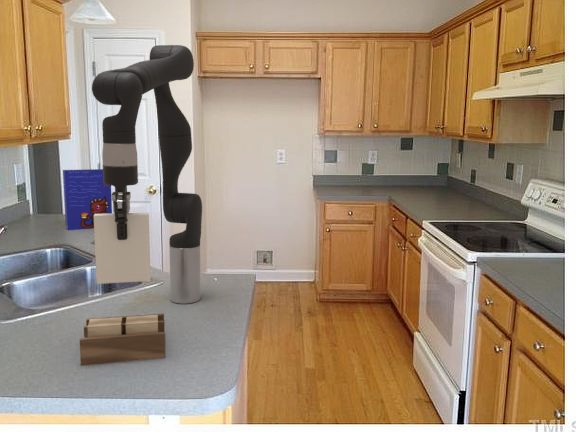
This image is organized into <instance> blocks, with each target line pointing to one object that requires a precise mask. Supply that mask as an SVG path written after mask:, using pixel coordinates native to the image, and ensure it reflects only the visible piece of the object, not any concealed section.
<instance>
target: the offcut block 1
mask: <svg viewBox="0 0 576 432" xmlns="http://www.w3.org/2000/svg"><path fill="white" fill-rule="evenodd" d="M116 317H117V318H106V317H101V318H102V319H91V318H89V319H90V321H89V324H88V327H87V328H88V338H90V337H103V336H116V335H123V329H122V317H121V316H116Z"/></svg>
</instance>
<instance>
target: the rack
mask: <svg viewBox="0 0 576 432" xmlns="http://www.w3.org/2000/svg"><path fill="white" fill-rule="evenodd" d="M147 315H148V314H141V315H140V314H139V315H135V316H147ZM150 315H158V332H156V333H143V334H129V335H126V318H127V317H132V316H133V315H124V316H123V315H122V316H120V317H122V329H123V335H116V336H103V337H90V338H88V328H87V327H88V324H89V321H90V319H102V318H103V317H94V318H86V322H85V323H86V324H85V325H84V326H83V337H80V338H79V356H80V366H87V365H89V366H90V365H101V364H109V363H110V364H113V363H121V362H134V361H145V360H156V359H166V331H165V313H152V314H150ZM117 317H118V316H107V317H106V316H105V318H117Z"/></svg>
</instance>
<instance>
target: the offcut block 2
mask: <svg viewBox="0 0 576 432" xmlns="http://www.w3.org/2000/svg"><path fill="white" fill-rule="evenodd" d="M146 315H147V316H136V315H131V316H132V317H127V318H126V335H129V334H143V333H156V332H158V315H151V314H146Z"/></svg>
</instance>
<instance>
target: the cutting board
mask: <svg viewBox="0 0 576 432" xmlns="http://www.w3.org/2000/svg"><path fill="white" fill-rule="evenodd" d="M118 217H124V215H118ZM127 220H128V222H127V239H126V240H118V239H117V224H116V223H115V213H114V212H112V213H110V214H94V228H93V234H94V253H95V273H96V274H95V276H96V279H95V280H96V284H97V285H100V284H102V285H103V284H116V283H117V284H118V283H120V284H121V283H139V282H151V281H152V279H151V278H152V277H151V245H150V244H151V242H150V239H151V238H150V212H129V213H127Z"/></svg>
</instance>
